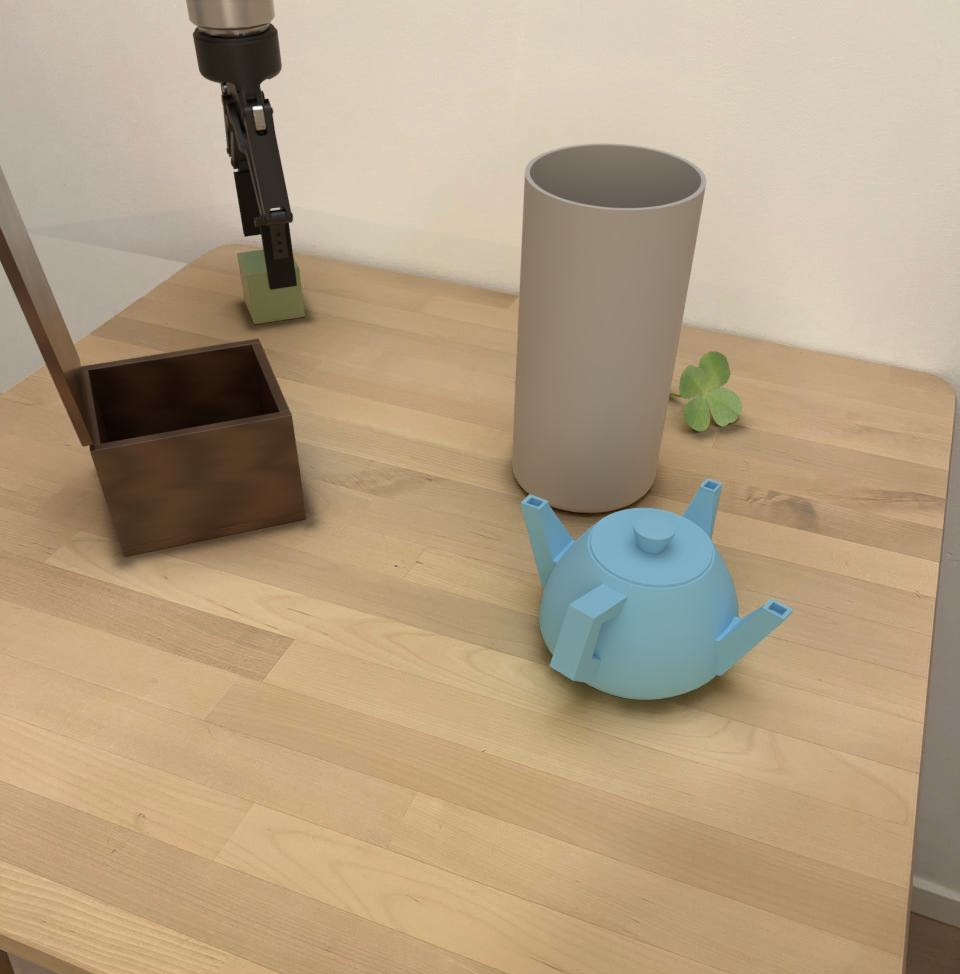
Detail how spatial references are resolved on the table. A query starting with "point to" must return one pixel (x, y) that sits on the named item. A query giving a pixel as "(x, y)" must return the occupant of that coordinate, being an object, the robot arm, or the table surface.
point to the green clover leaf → (708, 393)
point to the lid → (42, 312)
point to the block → (268, 291)
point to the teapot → (642, 599)
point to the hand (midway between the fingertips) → (269, 259)
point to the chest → (192, 445)
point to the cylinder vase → (600, 319)
